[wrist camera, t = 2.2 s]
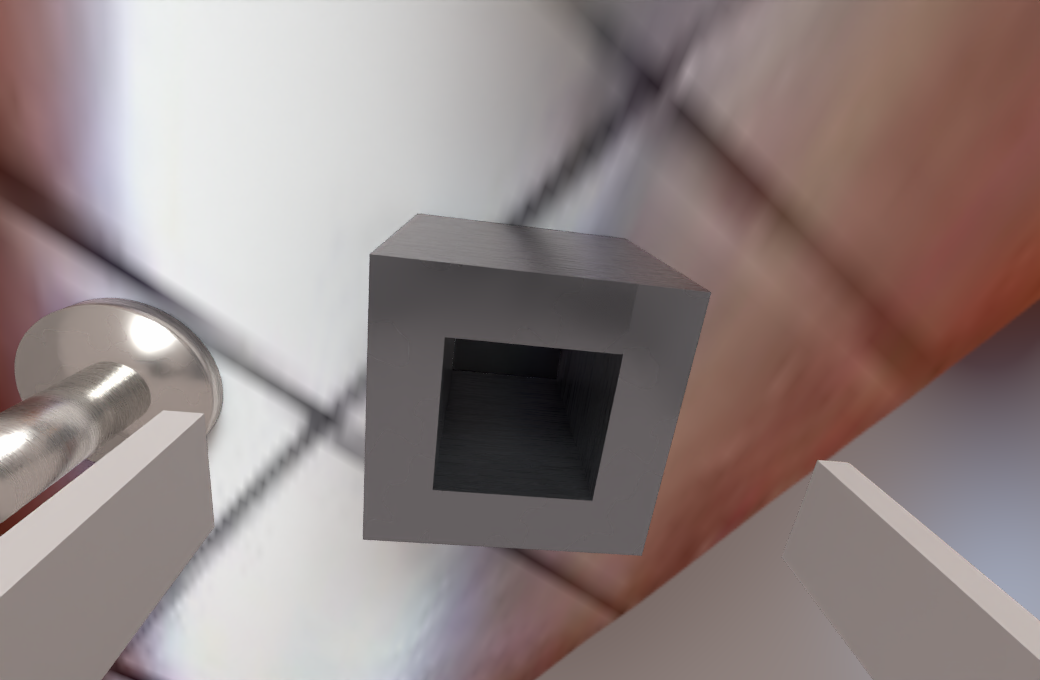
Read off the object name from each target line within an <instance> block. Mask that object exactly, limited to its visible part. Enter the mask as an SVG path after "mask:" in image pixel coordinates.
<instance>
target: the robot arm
mask: <svg viewBox="0 0 1040 680" xmlns="http://www.w3.org/2000/svg"><path fill="white" fill-rule="evenodd" d="M214 527H215V526H214V515H213V504H212V493H211V482H210V471H209V460H208V449H207V437H206V426H205V415H204V413H192V412H179V411H166V410H163V411H162V412H161V413H159V414H158V415H157V416H155V417H154V418H153V419H152V420H150V421H149V422H148V423H146V424H145V425H144V426H143V427H141V428H140V429H139V430H137V431H136V432H135V433H134V434H132V435H131V436H130V437H128V438H127V439H126V440H125V441H123V442H122V443H121V444H119V445H118V446H117V447H115V448H114V449H113V450H112V451H110V452H109V453H108V454H106V455H105V456H104V457H103V458H101V459H100V460H99V461H97V462H96V463H95V464H94V465H92V466H91V467H90V468H88V469H87V470H86V471H85V472H83V473H82V474H81V475H79V476H78V477H77V478H76V479H74V480H73V481H72V482H70V483H69V484H68V485H67V486H65V487H64V488H63V489H61V490H60V491H59V492H58V493H56V494H55V495H54V496H52V497H51V498H50V499H49V500H47V501H46V502H45V503H43V504H42V505H41V506H39V507H38V508H37V509H36V510H34V511H33V512H32V513H30V514H29V515H28V516H27V517H25V518H24V519H23V520H21V521H20V522H19V523H18V524H16V525H15V526H14V527H12V528H11V529H10V530H9V531H7V532H6V533H5V534H3V535H2V536H1V537H0V680H102V678H103V677H104V676H105V674H106V673H107V672H108V670H109V669H110V667H111V666H112V665H113V663H114V662H115V661H116V659H117V658H118V657H119V655H120V654H121V653H122V651H123V650H124V649H125V647H126V646H127V644H128V643H129V642H130V640H131V639H132V638H133V636H134V635H135V634H136V632H137V631H138V630H139V628H140V627H141V626H142V624H143V623H144V621H145V620H146V619H147V617H148V616H149V615H150V613H151V612H152V611H153V609H154V608H155V607H156V605H157V604H158V603H159V601H160V600H161V598H162V597H163V596H164V594H165V593H166V592H167V590H168V589H169V588H170V586H171V585H172V584H173V582H174V581H175V579H176V578H177V577H178V575H179V574H180V573H181V571H182V570H183V569H184V567H185V566H186V565H187V563H188V562H189V561H190V559H191V558H192V556H193V555H194V554H195V552H196V551H197V550H198V548H199V547H200V546H201V544H202V543H203V542H204V540H205V539H206V538H207V536H208V535H209V533H210V532H211V531H212V529H213V528H214ZM782 558H783V560H784V561H785V563H786V564H787V565H788V567H789V568H790V569H791V571H792V572H793V573H794V575H795V576H796V577H797V579H798V580H799V581H800V583H801V584H802V585H803V587H804V588H805V589H806V591H807V592H808V593H809V595H810V596H811V597H812V599H813V600H814V601H815V603H816V604H817V605H818V607H819V608H820V609H821V610H822V612H823V613H824V615H825V616H826V617H827V619H828V620H829V621H830V623H831V624H832V625H833V627H834V628H835V629H836V631H837V632H838V633H839V635H840V636H841V637H842V639H843V640H844V641H845V643H846V644H847V645H848V647H849V648H850V649H851V651H852V652H853V653H854V655H855V656H856V657H857V659H858V660H859V661H860V663H861V664H862V665H863V667H864V668H865V669H866V671H867V672H868V673H869V675H870V676H871V678H872V679H873V680H1040V621H1039V620H1038V619H1037V618H1035V617H1034V616H1033V615H1032V614H1031V613H1030V612H1028V611H1027V610H1026V609H1025V608H1024V607H1022V606H1021V605H1020V604H1019V603H1018V602H1016V601H1015V600H1014V599H1013V598H1011V597H1010V596H1009V595H1008V594H1006V592H1004V591H1003V590H1002V589H1001V588H999V587H998V586H997V585H996V584H995V583H993V582H992V581H991V580H990V579H989V578H987V577H986V576H985V575H984V574H982V573H981V572H980V571H979V570H978V569H977V568H975V567H974V566H973V565H972V564H971V563H969V562H968V561H967V560H966V559H965V558H963V557H962V556H961V555H960V554H958V553H957V552H956V551H955V550H954V549H952V548H951V547H950V546H949V545H948V544H946V543H945V542H944V541H943V540H942V539H940V538H939V537H938V536H937V535H936V534H934V533H933V532H932V531H931V530H929V529H928V528H927V527H926V526H925V525H923V524H922V523H921V522H920V521H919V520H917V519H916V518H915V517H914V516H913V515H911V514H910V513H909V512H908V511H907V510H905V509H904V508H903V507H902V506H901V505H899V504H898V503H897V502H896V501H894V500H893V499H892V498H891V497H890V496H888V495H887V494H886V493H885V492H884V491H882V490H881V489H880V488H879V487H877V486H876V485H875V484H874V483H873V482H872V481H870V480H869V479H868V478H867V477H866V476H864V475H863V474H862V473H861V472H859V471H858V470H857V469H856V468H855V467H854V466H852V465H851V464H850V463H849V462H836V461H823V460H817V463H816V465H815V468H814V471H813V473H812V476H811V479H810V482H809V484H808V487H807V490H806V492H805V495H804V498H803V501H802V503H801V506H800V509H799V511H798V514H797V517H796V520H795V522H794V525H793V528H792V530H791V533H790V536H789V538H788V541H787V544H786V547H785V550H784V552H783V555H782Z"/></svg>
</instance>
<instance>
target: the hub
mask: <svg viewBox="0 0 1040 680" xmlns="http://www.w3.org/2000/svg"><path fill="white" fill-rule="evenodd" d="M15 378H16V384H17V388H18V391H19V394H20V396H21V399H22V402H20V403H18V404H16V405H14V406H12V407H11V408H9V409H7V410H5V411H3V412H1V413H0V523H1V522H3V521H5V520H6V519H7V518H9V517H10V516H11V515H13V514H14V513H15V512H17V511H18V510H19V509H20V508H22V507H23V506H24V505H26V504H27V503H28V502H30V501H31V500H32V499H34V498H35V497H36V496H38V495H39V494H40V493H42V492H43V491H44V490H46V489H47V488H48V487H49V486H51V485H52V484H53V483H55V482H56V481H57V480H59V479H60V478H61V477H63V476H64V475H65V474H67V473H68V472H69V471H71V470H72V469H73V468H74V467H76V466H77V465H78V464H80V463H81V462H82V461H84V460H85V459H88V460H91V461H93V462H97V461H99V460H100V459H101V458H103V457H104V456H105V455H106V454H108V453H109V452H110V451H112V450H113V449H114V448H115V447H117V446H118V445H119V444H121V443H122V442H123V441H125V440H126V439H127V438H128V437H130V436H131V435H132V434H134V433H135V432H136V431H137V430H139V429H140V428H141V427H143V426H144V425H145V424H146V423H148V422H149V421H150V420H152V419H153V418H154V417H155V416H157V415H158V414H159V413H161V412H162V411H163V410H166V411H179V412H192V413H204V415H205V426H206V435H207V434H208V433H209V431H210V430H211V429H212V427H213V426H214V425H215V423H216V421H217V419H218V417H219V414H220V411H221V407H222V400H223V388H222V382H221V377H220V374H219V371H218V368H217V366H216V363H215V361H214V359H213V357H212V356H211V354H210V352H209V351H208V349H207V348H206V347H205V345H204V344H203V343H202V342H201V340H200V339H199V338H198V337H197V336H196V335H195V334H194V333H193V332H192V331H191V330H190V329H189V328H187V327H186V326H185V325H184V324H182V323H181V322H180V321H178V320H177V319H175V318H174V317H172V316H171V315H169V314H167V313H165V312H163V311H161V310H159V309H157V308H155V307H152V306H149V305H147V304H144V303H140V302H137V301H133V300H127V299H120V298H99V299H92V300H87V301H83V302H80V303H77V304H75V305H72V306H69V307H66V308H64V309H61V310H58V311H55V312H53V313H50V314H49V315H47V316H45V317H43V318H41V319H40V320H39V321H38V322H36V323H35V324H34V325H33V326H32V327H31V328H30V329H29V330H28V331H27V332H26V333H25V335H24V337H23V338H22V340H21V342H20V344H19V347H18V350H17V352H16V358H15Z"/></svg>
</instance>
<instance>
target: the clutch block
mask: <svg viewBox="0 0 1040 680" xmlns="http://www.w3.org/2000/svg"><path fill="white" fill-rule="evenodd" d="M710 295H711V292H710V291H708V290H707V289H705V288H703V287H702V286H700V285H699V284H697V283H695V282H694V281H692V280H691V279H689V278H688V277H686V276H684V275H683V274H681V273H680V272H678V271H676V270H675V269H673V268H672V267H670V266H668V265H667V264H665V263H664V262H662V261H660V260H659V259H657V258H656V257H654V256H652V255H651V254H649V253H648V252H646V251H645V250H643V249H641V248H640V247H638V246H637V245H635V244H633V243H632V242H630V241H629V240H627V239H624V238H615V237H607V236H599V235H591V234H582V233H574V232H566V231H558V230H549V229H541V228H533V227H524V226H516V225H508V224H500V223H491V222H483V221H475V220H467V219H458V218H450V217H442V216H434V215H425V214H416V215H415V216H414V217H413V218H412V219H411V220H409V221H408V222H407V223H406V224H405V225H403V226H402V227H401V228H400V229H399V230H398V231H396V232H395V233H394V234H393V235H392V236H390V237H389V238H388V239H387V240H386V241H385V242H383V243H382V244H381V245H380V246H379V247H377V248H376V249H375V250H374V251H373V252H372V253H370V266H369V308H368V349H367V391H366V433H365V474H364V516H363V539H364V540H381V541H398V542H415V543H433V544H450V545H467V546H485V547H502V548H519V549H536V550H554V551H571V552H588V553H606V554H623V555H640V556H642V552H643V548H644V545H645V541H646V537H647V533H648V530H649V526H650V522H651V518H652V514H653V511H654V507H655V503H656V499H657V495H658V492H659V488H660V484H661V480H662V476H663V473H664V469H665V465H666V461H667V458H668V454H669V450H670V446H671V442H672V439H673V435H674V431H675V427H676V423H677V420H678V416H679V412H680V408H681V404H682V401H683V397H684V393H685V389H686V386H687V382H688V378H689V374H690V370H691V367H692V363H693V359H694V355H695V351H696V348H697V344H698V340H699V336H700V332H701V329H702V325H703V321H704V317H705V314H706V310H707V306H708V302H709V298H710ZM455 338H458V339H469V340H479V341H489V342H499V343H510V344H520V345H530V346H540V347H550V348H561V354H560V360H559V366H558V372H557V378H556V379H548V378H537V377H526V376H515V375H504V374H493V373H482V372H471V371H460V370H453V361H454V349H455Z"/></svg>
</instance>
